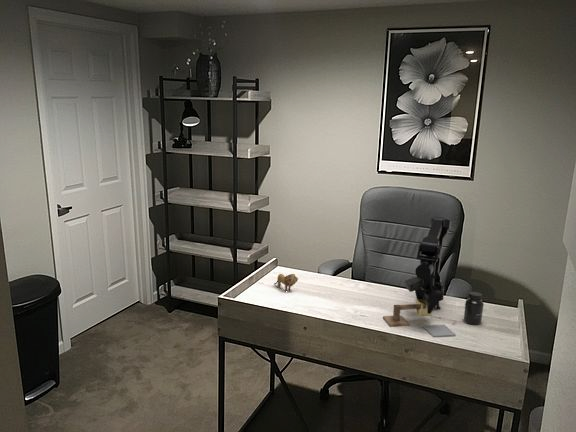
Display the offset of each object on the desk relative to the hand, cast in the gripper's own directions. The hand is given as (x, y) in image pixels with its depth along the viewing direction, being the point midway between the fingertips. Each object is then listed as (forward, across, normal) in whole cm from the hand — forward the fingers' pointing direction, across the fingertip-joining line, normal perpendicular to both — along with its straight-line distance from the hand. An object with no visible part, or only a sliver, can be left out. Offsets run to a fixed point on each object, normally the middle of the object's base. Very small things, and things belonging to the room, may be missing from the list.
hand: (424, 308), depth 193 cm
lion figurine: (+5, -40, -50) cm, 65 cm away
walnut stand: (+5, 0, -5) cm, 7 cm away
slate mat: (+5, +10, +2) cm, 11 cm away
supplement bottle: (+5, +3, +20) cm, 21 cm away
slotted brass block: (+2, 0, 0) cm, 2 cm away
